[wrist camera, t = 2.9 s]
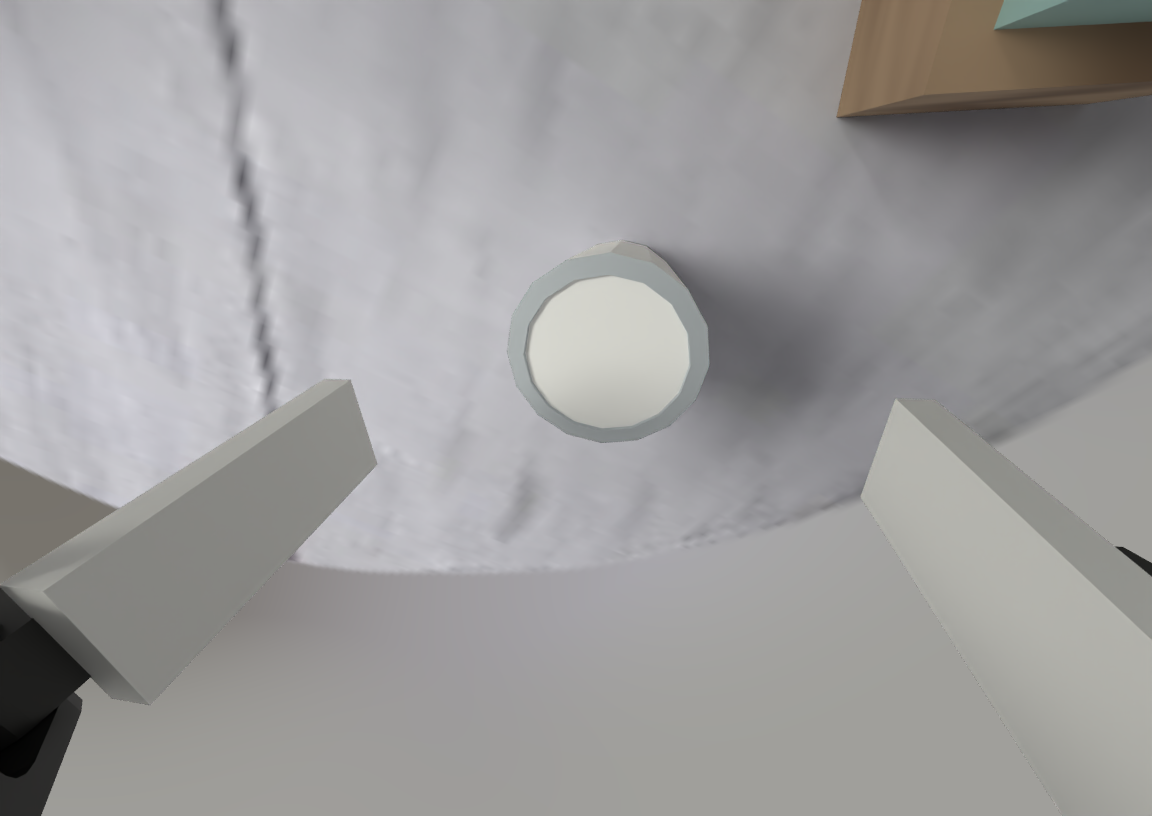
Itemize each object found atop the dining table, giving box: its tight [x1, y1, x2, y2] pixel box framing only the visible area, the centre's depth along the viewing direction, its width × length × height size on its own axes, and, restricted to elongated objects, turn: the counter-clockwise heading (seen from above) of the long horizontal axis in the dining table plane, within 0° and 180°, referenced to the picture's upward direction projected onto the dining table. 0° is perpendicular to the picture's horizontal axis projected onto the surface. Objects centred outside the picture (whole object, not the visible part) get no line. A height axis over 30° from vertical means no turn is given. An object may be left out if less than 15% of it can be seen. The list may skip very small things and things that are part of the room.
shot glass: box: [507, 240, 710, 443], centre depth 17 cm, size 7×7×7 cm
